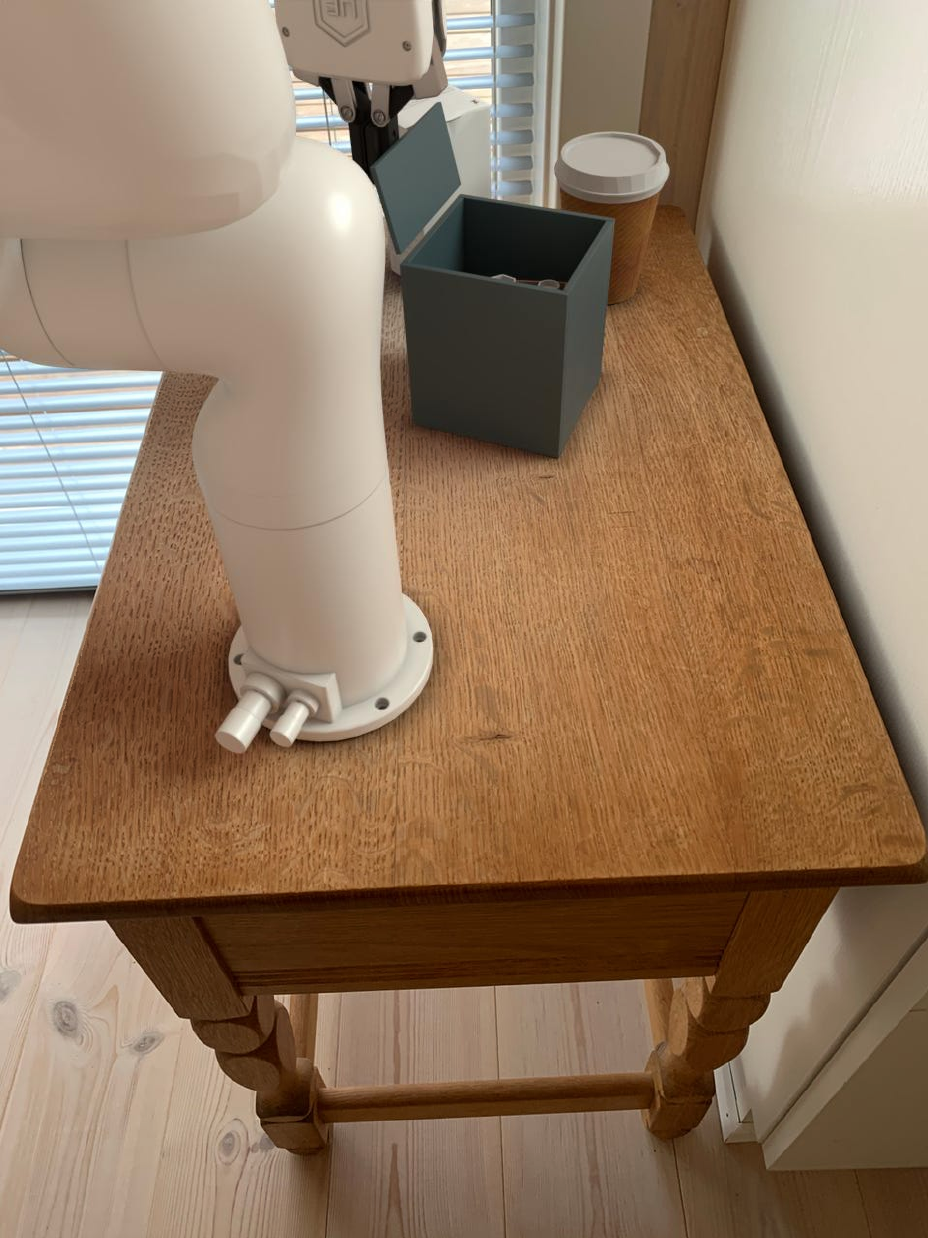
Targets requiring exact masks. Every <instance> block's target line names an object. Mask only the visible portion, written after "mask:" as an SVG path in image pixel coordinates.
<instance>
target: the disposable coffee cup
mask: <svg viewBox="0 0 928 1238" xmlns="http://www.w3.org/2000/svg"><path fill="white" fill-rule="evenodd" d="M666 156H667V155H666V151H665V149H664V148H663V146H662V145H661V144H660V143H658V142H657V141H655V140H654V139H651V138H649V137H647V136H643V135H640V134H638V133H631V132H625V131H597V132H591V133H586V134H583V135H579V136H576V137H574V138H572V139H570V140H569V141H567V142H566V143H565V144H564V145H563V146H562V147H561V150H560V153H559V157H558V159H557V160H556V161H555V163H554V167H553V173H554V176H555V178H556V180H557V184H558V186H559V197H560V207H561V208H560V210H565V211H571V212H578V213H584V214H590V215H597V216H603V217H609V218H615V224H614V235H613V246H612V257H611V268H610V279H609V291H608V302H607V305H613V304H619V303H622V302H624V301H626V300H629V299H631V297H633V295H634V294H635V293H636V291H637V286H638V283H639V278H640V276H641V275H640V274H641V271H642V267H643V263H644V259H645V255H646V252H647V246H648V243H649V240H650V239H649V238H650V234H651V230H652V227H653V223H654V218H655V215H656V211H657V206H658V202H659V199H660V195H661V191H662V189H663V187H664V186H665V183H666V182H667V181H668V178H669V176H670V166H669V164H668V163H667V157H666Z"/></svg>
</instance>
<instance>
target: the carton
mask: <svg viewBox="0 0 928 1238" xmlns="http://www.w3.org/2000/svg"><path fill="white" fill-rule="evenodd" d="M614 224H615V218H609V217H603V216H597V215H590V214H584V213H578V212H571V211H565V210H561V209H559V208H551V207H547V206H539V205H533V204H528V203H522V202H521V203H520V202H514V201H508V200H503V199H502V200H501V199H496V198H492V199H490V198H484V197H477V196H471V195H465V194H460V195H459V196H458V197H457V198H456V199H455V201H454V202H453V203H452V204H451V205H450V206H449V208H448V209H447V210H446V211H445V212H444V213H443V215H442V216H441V217H440V218H439V219H438V220H437V222H436V223H435V224H434V225H433V226H432V227H431V229H430V230H429V231H428V232H427V233H426V234H425V236H424V237H423V238H422V239H421V240H420V241H419V243H418V244H417V245H416V246H415V247H414V249H413V250H412V251H411V252H410V253H409V254H408V256H407V257H406V258H405V259H404V260H403V262H402V263H401V264H400V274H401V276H400V285H401V297H402V298H401V299H402V309H403V321H404V322H403V323H404V334H405V345H406V358H407V369H408V381H409V393H410V394H409V395H410V405H411V417H412V418H411V419H412V425H413V426H416V427H417V426H418V427H421V428H426V429H430V430H435V431H438V432H439V431H440V432H444V433H447V434H453V435H457V436H461V437H466V438H470V439H474V440H478V441H483V442H488V443H491V444H496V445H500V446H504V447H509V448H514V449H518V450H522V451H526V452H530V453H535V454H539V455H544V456H547V457H548V456H549V457H553V458H556V459H559V458H560V456H561V454H562V452H563V451H564V449H565V446H566V445H567V443H568V440H569V439H570V437H571V435H572V433H573V431H574V429H575V427H576V425H577V424H578V421H579V419H580V418H581V416H582V414H583V412H584V411H585V408H586V406H587V404H588V403H589V401H590V399H591V396H592V395H593V393H594V391H595V389H596V387H597V385H598V383H599V381H600V380H601V377H602V367H603V357H604V344H605V334H606V322H607V311H608V304H607V302H608V291H609V279H610V268H611V257H612V246H613V235H614ZM502 274H504V275H507V276H510V277H513V278H516V280H524V281H544V280H554V281H556V282H567V285H566V286H565V288H564V289H563V291H562V290H557V289H551V288H546V287H540V286H535V285H529V284H524V283H518V282H513V281H508V280H502V279H497V278H491V277H494V276H498V275H502Z"/></svg>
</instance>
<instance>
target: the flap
mask: <svg viewBox="0 0 928 1238" xmlns="http://www.w3.org/2000/svg"><path fill="white" fill-rule="evenodd" d="M370 170H371V174H372V177H373V180H374V183H375V187H374V188H375V190H376V193H377V196H378V199H379V201H380V205H381V210H382V214H383V216H384V219H385V222H386V227H387V226H388V229H389V232H390V236H391V239H392V242H393V246H394V249H395V252H396V255H398V254H402V253H403V251H404V250H405V249H406V248H407V247H408V246H409V245H410V243H411V242H412V241H413V240H414V239H415V238H416V236H417V235H418V234H419V233H420V232H421V231H422V230H423V228H424V227H425V226H426V225H427V224H428V223H429V221H430V220H431V219H432V218H433V217H434V216H435V214H436V213H437V212H438V211H439V210H440V209H441V208H442V206H443V205H444V204H445V203H446V202H447V201H448V199H449V198H450V197H451V196H452V195H453V194H454V192H455V191H456V190H457V189H458V188H459V187H460V186H461V181H460V176H459V172H458V168H457V164H456V160H455V156H454V152H453V148H452V144H451V140H450V136H449V132H448V128H447V124H446V120H445V116H444V112H443V108H442V104H441V102H436V103H435V104H434V105H433V106H432V107H431V108H430V109H429V110H428V111H427V112H426V113H425V114H424V115H423V116H422V117H421V118H420V119H419V120H418V121H417V122H416V123H415V124H414V125H413V126H412V127H411V128H410V129H409V130H408V131H407V132H406V133H405V134H404V135H403V136H402V137H401V138H400V139H399V140H398V141H397V142H396V143H395V144H394V145H393V146H391V147H390V148H389V149H388V150H387V151H386V152H385V153H384V154H383V155H382V156H381V157H380V158H379V159H378V160H377V161H376V162H375V163H374V164H373V165H372V166H371V167H370Z"/></svg>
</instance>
